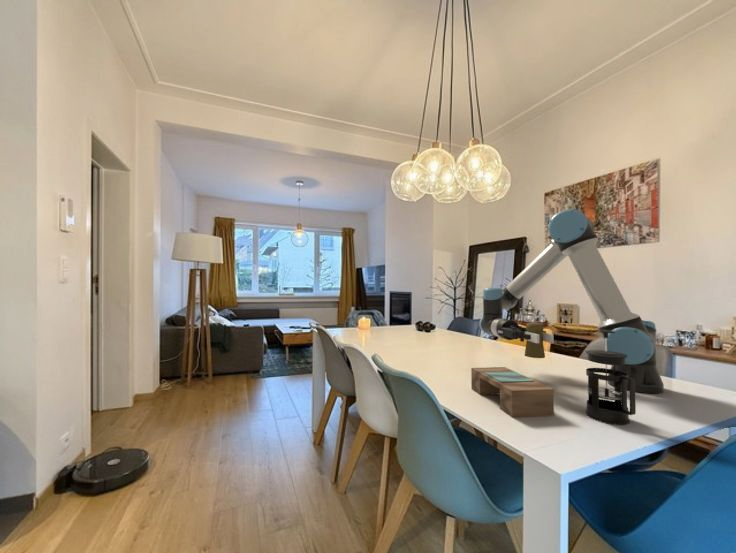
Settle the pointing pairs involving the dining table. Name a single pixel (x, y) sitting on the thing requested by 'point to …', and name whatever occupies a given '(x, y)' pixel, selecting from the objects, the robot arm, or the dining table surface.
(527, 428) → the dining table surface
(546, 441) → the dining table surface
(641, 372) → the robot arm
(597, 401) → the french press
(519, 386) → the wooden block
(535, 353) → the cork
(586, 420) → the dining table surface
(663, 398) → the dining table surface
